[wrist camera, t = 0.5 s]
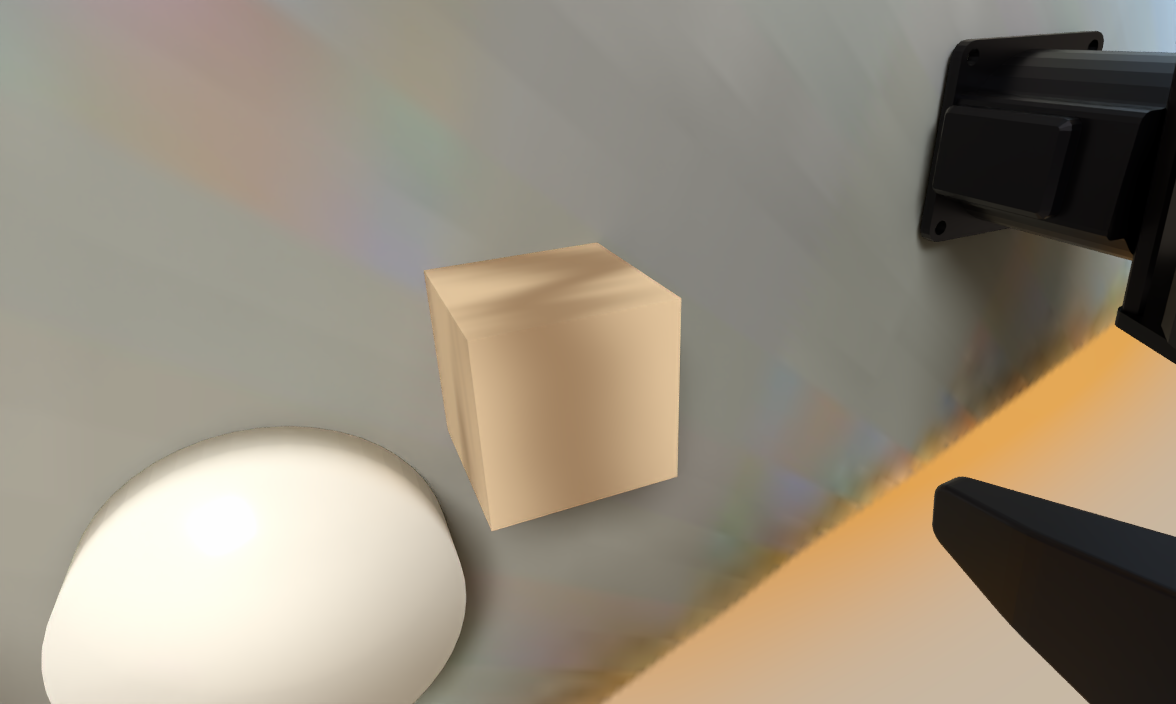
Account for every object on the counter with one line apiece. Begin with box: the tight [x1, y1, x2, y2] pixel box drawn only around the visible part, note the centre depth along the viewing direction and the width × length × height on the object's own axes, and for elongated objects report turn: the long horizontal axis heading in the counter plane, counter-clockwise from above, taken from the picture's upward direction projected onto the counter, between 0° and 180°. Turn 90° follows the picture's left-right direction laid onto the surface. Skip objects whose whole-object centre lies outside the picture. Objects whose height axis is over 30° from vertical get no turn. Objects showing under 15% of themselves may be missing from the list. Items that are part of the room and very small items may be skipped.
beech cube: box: [424, 243, 681, 531], centre depth 18 cm, size 5×5×5 cm
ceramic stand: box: [42, 426, 466, 704], centre depth 19 cm, size 10×10×2 cm
